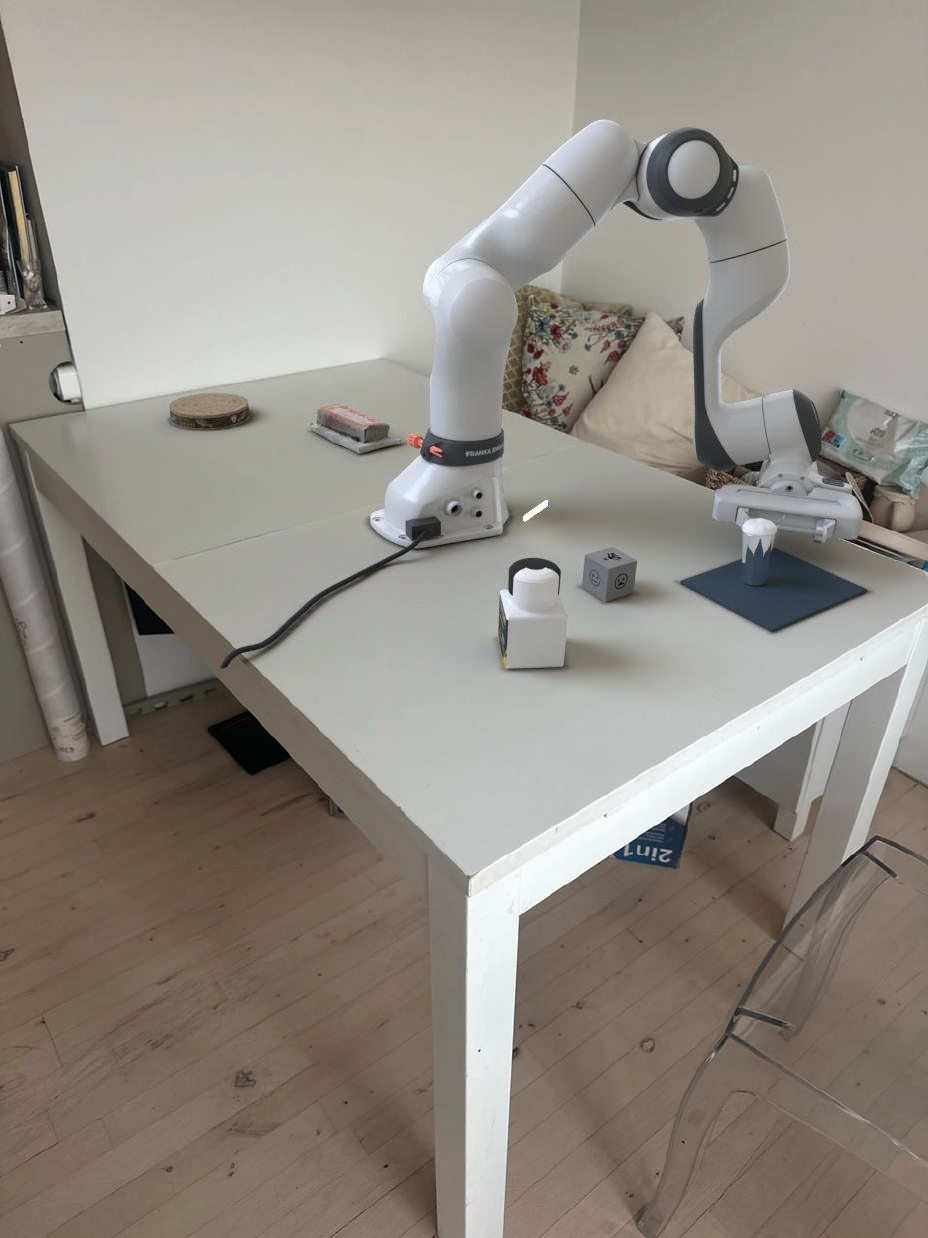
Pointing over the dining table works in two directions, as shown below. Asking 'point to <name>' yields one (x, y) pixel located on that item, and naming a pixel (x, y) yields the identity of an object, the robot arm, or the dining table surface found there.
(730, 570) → the mat
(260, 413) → the dining table surface
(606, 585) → the dice cube
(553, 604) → the medicine bottle
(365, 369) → the dining table surface
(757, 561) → the milkshake
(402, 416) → the dining table surface
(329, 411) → the packaged product
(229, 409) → the round wood slice
